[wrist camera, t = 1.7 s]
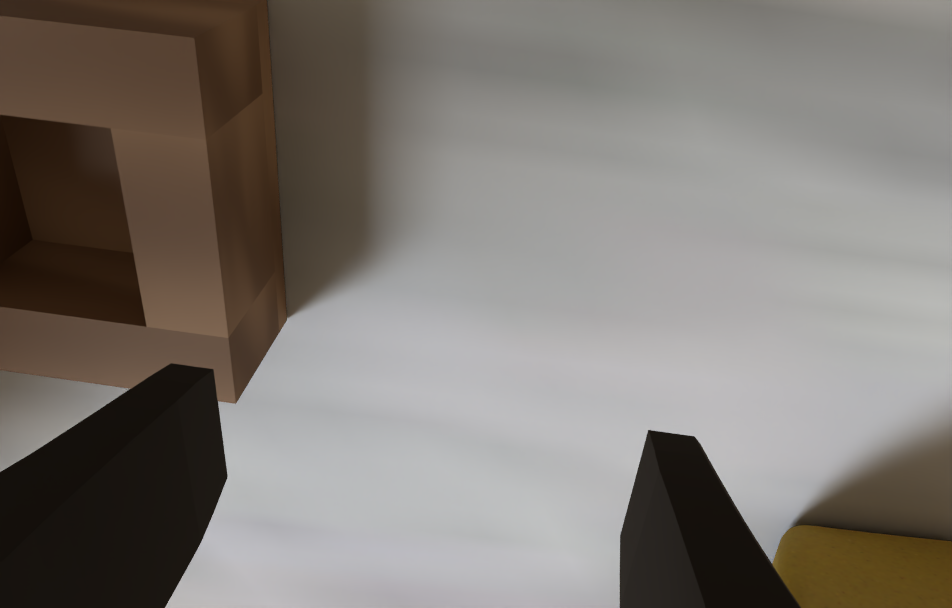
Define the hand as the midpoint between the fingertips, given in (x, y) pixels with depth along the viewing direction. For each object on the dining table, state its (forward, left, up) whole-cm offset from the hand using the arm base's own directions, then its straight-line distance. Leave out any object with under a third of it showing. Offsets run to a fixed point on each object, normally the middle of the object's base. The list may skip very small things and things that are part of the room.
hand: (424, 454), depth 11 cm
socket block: (0, +9, -8) cm, 12 cm away
